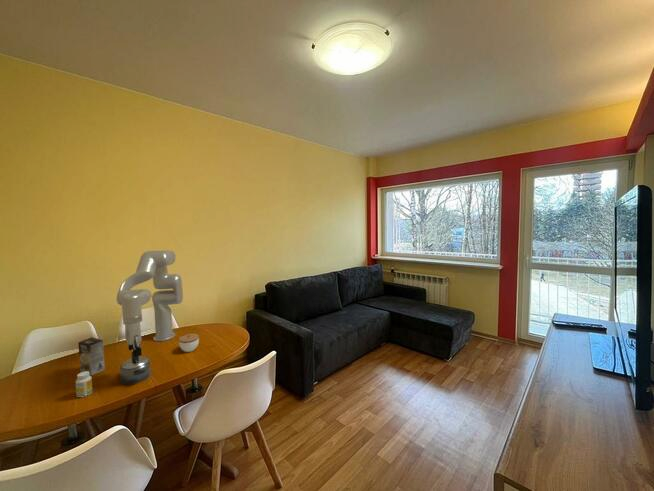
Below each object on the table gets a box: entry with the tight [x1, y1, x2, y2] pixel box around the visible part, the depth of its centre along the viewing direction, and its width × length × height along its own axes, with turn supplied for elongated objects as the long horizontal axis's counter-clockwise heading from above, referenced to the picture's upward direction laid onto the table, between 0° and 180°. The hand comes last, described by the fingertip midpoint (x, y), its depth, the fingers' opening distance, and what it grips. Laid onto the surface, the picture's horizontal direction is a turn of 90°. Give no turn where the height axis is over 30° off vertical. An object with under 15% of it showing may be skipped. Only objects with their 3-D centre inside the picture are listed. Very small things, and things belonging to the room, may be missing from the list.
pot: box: [119, 358, 152, 385], centre depth 133 cm, size 16×12×7 cm
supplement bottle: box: [75, 371, 93, 398], centre depth 120 cm, size 5×5×10 cm
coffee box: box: [78, 336, 106, 376], centre depth 138 cm, size 9×6×16 cm
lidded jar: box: [178, 333, 200, 353], centre depth 162 cm, size 11×11×9 cm
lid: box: [121, 351, 150, 370], centre depth 133 cm, size 11×11×6 cm
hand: (135, 352), depth 133 cm, fingers open, 9 cm apart
